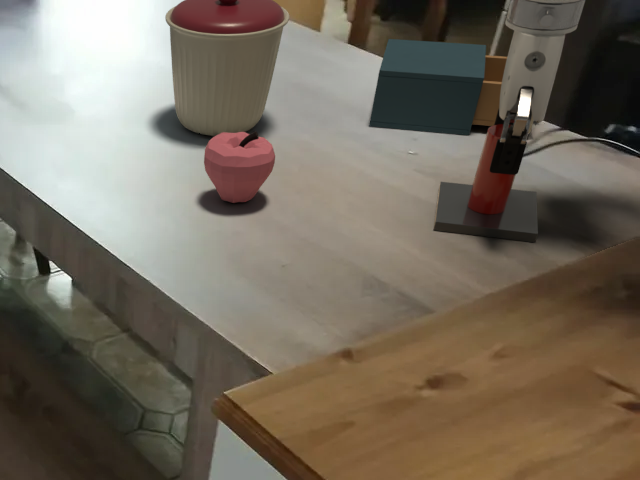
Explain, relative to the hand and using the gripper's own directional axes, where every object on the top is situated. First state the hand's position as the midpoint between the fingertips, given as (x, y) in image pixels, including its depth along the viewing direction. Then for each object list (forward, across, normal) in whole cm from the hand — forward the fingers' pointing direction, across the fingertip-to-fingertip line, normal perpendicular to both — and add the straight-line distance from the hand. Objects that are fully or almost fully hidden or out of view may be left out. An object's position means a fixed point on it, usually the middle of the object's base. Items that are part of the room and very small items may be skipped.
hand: (503, 156), depth 116 cm
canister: (+8, +21, +40) cm, 46 cm away
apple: (+8, -4, +32) cm, 34 cm away
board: (+8, 0, 0) cm, 8 cm away
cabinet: (+8, +33, +10) cm, 35 cm away
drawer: (+7, +33, +1) cm, 34 cm away
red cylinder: (+7, 0, 0) cm, 7 cm away
